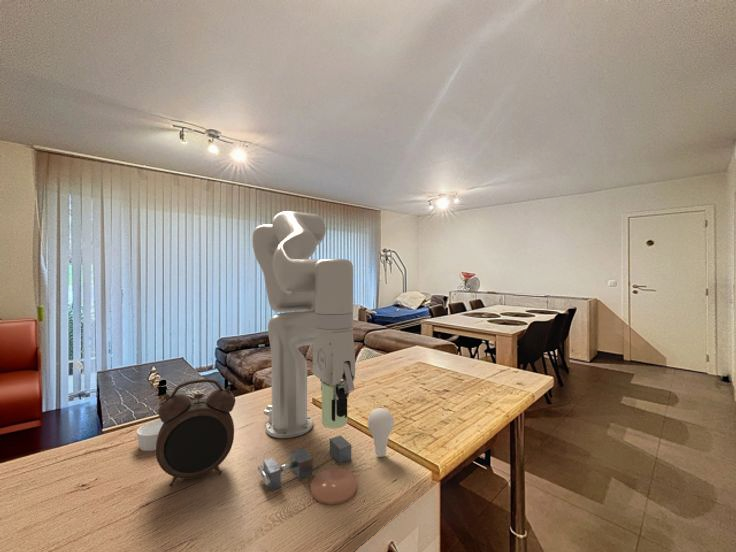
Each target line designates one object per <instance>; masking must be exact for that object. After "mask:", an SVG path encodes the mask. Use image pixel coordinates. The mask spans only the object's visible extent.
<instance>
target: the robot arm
mask: <svg viewBox="0 0 736 552" xmlns="http://www.w3.org/2000/svg"><path fill="white" fill-rule="evenodd" d="M271 223H272V224H271ZM271 223H270V224H269V223H268V224H261V225H257V227H255V228H254V231H253V233H252V248H253V253H254V256H255V259H256V261H257V263H258V265H259V266H260V267H259V268H261V270H262V273H263V277H264V283H265V289H266V295H267V299H268V304H269V306H270V309H271V310H272V311H274V312H278V313H277V314H274V316H272V317H271V318H270V319H269V321H268V324H267V336H268V339H269V346H270V356H271V404H268V405H267V406H266V409H264V410H263V415H264V416H268V421H267V423H266V424H265V432H266V434H268V436H270V437H272V438H277V439H292V438H296V437H300V436H303V435H304V434H307V433H308V432H309V431H310V430H312V428H313V424H314V420H313V418H312V417H311V416H310V415H309V414H308V362H307V359H306V357H305V356H304V355H303V354H302V352H301V351H300V350H299V348H301V347H303V346H312V345H313V346H312V347H313V348H312V375H314V376H315V377H316V378H318V379H319V380H320V390H321V392H322V381H324V382H325V383H327V384H329V385H330V386H333V399H334V400H332V420H333V421H335V401H336V405H337V415H338V416H339V417H342V416H344V415H345V418H346V417H347V418H348V398H349V397H350V393H351V392H353V391H355V384H354V381H355V377H356V353H355V352H356V351H355V341H354V332H353V330H354V266H353V262H352V261H351V260H349V259H344V258H324V259H323V258H322V259H318V258H317V259H313V258H311V257H312V256H313V254H314V253H315V252H316V249H317V246H319V245H320V243H322V242H323V240H324V238H325V236H326V223H325V221H324V218H322V217H321V216H320V215H319V214H316V213H309V212H301V211H291V210H285V211H281V212H279V213H277V214H275V216H274V217H273V219H272V222H271ZM310 258H311V259H310ZM342 385H343V387H342V388H340V389H339V391H338V386H342Z"/></svg>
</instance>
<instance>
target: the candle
mask: <svg viewBox="0 0 736 552" xmlns="http://www.w3.org/2000/svg"><path fill="white" fill-rule="evenodd" d="M342 387H343V385H342V386H338V391H339V389H340V388H342ZM332 400H334V399H333V386H330V385H329V384H327V383H325V382H324V381H322V391H321V425H322V426H323V427H325V428H326V429H340V428H343V427H344V426H346V425H347V424H348V416H347V417H346V418H345V415H344V416H342V417H339V416H338V415H337V405H336V401H335V421H333V420H332Z"/></svg>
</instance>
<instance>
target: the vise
mask: <svg viewBox="0 0 736 552" xmlns="http://www.w3.org/2000/svg"><path fill="white" fill-rule="evenodd" d="M329 456H331V457H332V458H333V460H334V461H335V462H337V464H338V465H342V464H345V463H348V462H351V461H352V444H351V443H350V442H348V440H346V438H344V437H343V436H342V435H338V436H335V437H333V438H329ZM313 461H314V459H313V457H312V456H311V454H310V453H309V452H308V451H307V450H306V448H305V447H304V446H303V447H301V448H298V449H294V450H292V451H290V462H288V463H285V464H283V465H279V464H278V463H277V460H275V457H270V458H267V459H264V460H263V465H261V464H259V465H258V467H257V470H258V471H259V474H260V477H262V480H263V482H264V483H265V485H266V486H267V487H268V489H269V491H270V492H272V491H274V490H277V489H280V488H282V473H284V472H287V471H290V470H292V472H293V474H295V477H296V478H297V479H298V481H301V480H303V479H306V478H308V477H311V476H313V475H314V465H313V464H314V462H313Z"/></svg>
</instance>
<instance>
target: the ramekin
mask: <svg viewBox="0 0 736 552" xmlns="http://www.w3.org/2000/svg"><path fill="white" fill-rule="evenodd" d="M163 423H164V422H162V421H161V419H160V418H159V419H155V420H153V421H149V422H147V423H144V424H143V425H141V426H139V428H137V430H136V436H137V440H138V441H137V442H138V447H139V449H140V450H141V451H144V452H153V451H155V452H156V441H157V437H158V433H159V431H160V429H161V427H162V425H163Z"/></svg>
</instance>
